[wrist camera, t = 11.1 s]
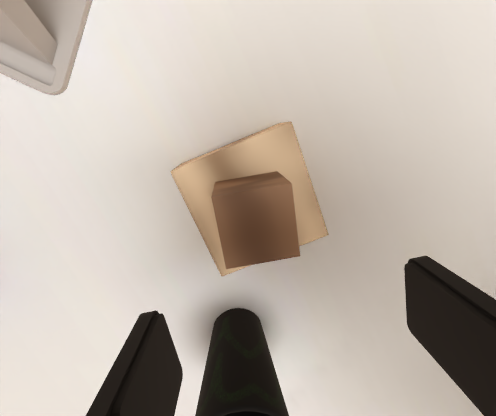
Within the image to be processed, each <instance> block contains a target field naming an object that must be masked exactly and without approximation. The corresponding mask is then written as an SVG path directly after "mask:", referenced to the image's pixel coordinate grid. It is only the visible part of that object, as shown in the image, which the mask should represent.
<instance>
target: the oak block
mask: <svg viewBox="0 0 496 416" xmlns="http://www.w3.org/2000/svg"><path fill="white" fill-rule="evenodd" d="M276 171H278V172H279V173H280V174H281V175H283V176H284V177H285V178H286V179H287V180H289V181H290V182H291V183H292V189H293V197H294V206H295V215H296V224H297V233H298V242H299V246H301V245H304V244H306V243H309V242H312V241H314V240H317V239H319V238H322V237H324V236H327V235H328V232H327V229H326V226H325V223H324V219H323V216H322V213H321V210H320V207H319V204H318V201H317V198H316V195H315V192H314V189H313V186H312V183H311V180H310V177H309V174H308V171H307V168H306V165H305V162H304V159H303V155H302V152H301V149H300V146H299V143H298V140H297V137H296V134H295V131H294V128H293V125H292V122H285V123H279V124H277V125H274V126H272V127H269V128H267V129H265V130H262V131H260V132H257V133H255V134H253V135H250V136H248V137H245V138H243V139H240V140H238V141H236V142H233V143H231V144H228V145H226V146H223V147H221V148H219V149H216V150H214V151H211V152H209V153H207V154H204V155H202V156H199V157H197V158H194V159H192V160H190V161H187V162H185V163H182V164H180V165H179V166H178V167H176V168H175V169H173V170H172V171H171V174H172V176H173V178H174V180H175V182H176V184H177V186H178V188H179V190H180V192H181V194H182V197H183V199H184V201H185V203H186V205H187V207H188V209H189V211H190V213H191V215H192V217H193V219H194V221H195V223H196V225H197V227H198V229H199V231H200V233H201V235H202V237H203V239H204V241H205V244H206V246H207V248H208V250H209V252H210V254H211V256H212V258H213V260H214V262H215V264H216V266H217V268H218V270H219V272H220V274H221V276H225V275H227V274H230V273H232V272H235V271H237V270H240V269H242V268H245V267H248V266H250V265H247V266H242V267H236V268H230V269H226V266H225V262H224V257H223V252H222V247H221V242H220V237H219V232H218V227H217V223H216V218H215V213H214V208H213V203H212V198H211V196H212V192H213V188H214V184H215V182H217V181H223V180H229V179H235V178H241V177H246V176H252V175H258V174H264V173H270V172H276Z"/></svg>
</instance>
